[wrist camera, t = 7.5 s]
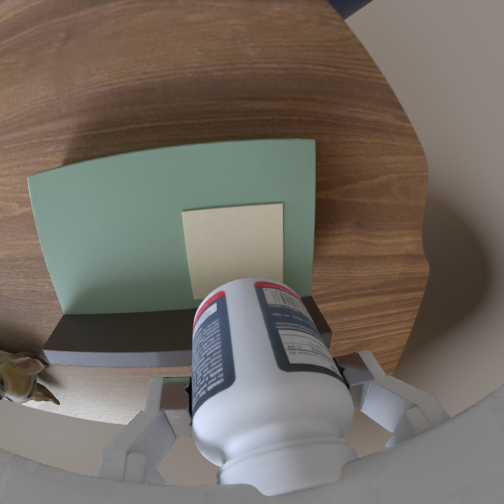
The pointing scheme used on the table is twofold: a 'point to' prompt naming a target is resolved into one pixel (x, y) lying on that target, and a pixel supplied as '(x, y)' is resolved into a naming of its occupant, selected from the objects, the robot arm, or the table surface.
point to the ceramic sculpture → (22, 378)
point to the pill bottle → (267, 390)
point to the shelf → (170, 242)
